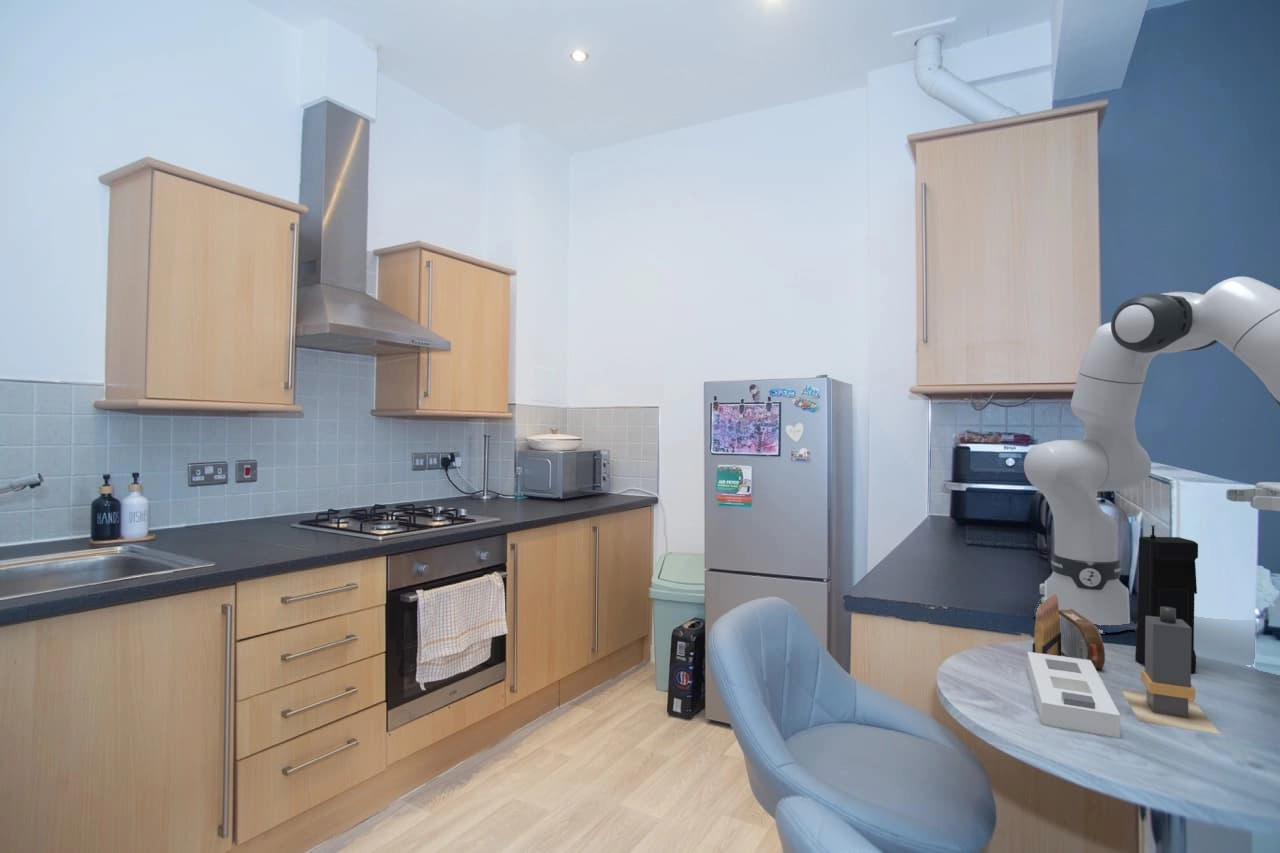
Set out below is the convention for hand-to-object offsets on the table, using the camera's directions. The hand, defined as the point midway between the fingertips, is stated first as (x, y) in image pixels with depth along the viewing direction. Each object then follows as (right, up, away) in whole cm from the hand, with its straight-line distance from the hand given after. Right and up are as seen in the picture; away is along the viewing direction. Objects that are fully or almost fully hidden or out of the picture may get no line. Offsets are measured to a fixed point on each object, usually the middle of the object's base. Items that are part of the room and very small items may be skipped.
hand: (1239, 498), depth 97 cm
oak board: (-11, -32, -1) cm, 34 cm away
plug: (-11, -31, -1) cm, 33 cm away
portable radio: (+4, -32, +19) cm, 37 cm away
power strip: (-23, -32, +3) cm, 40 cm away
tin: (-10, -32, +21) cm, 40 cm away
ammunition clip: (-17, -32, +19) cm, 41 cm away
